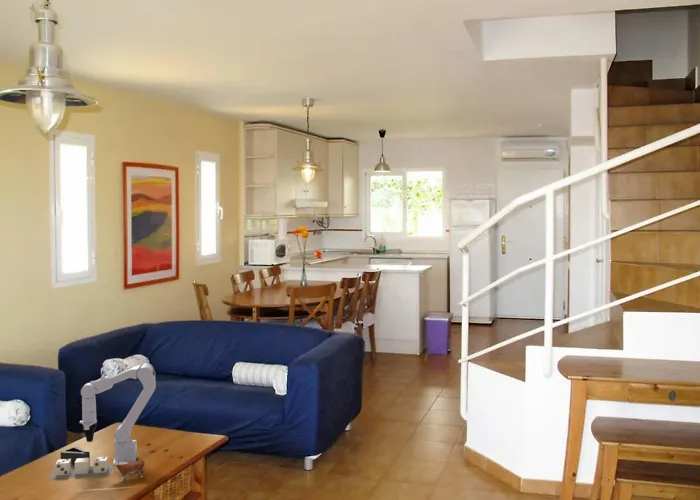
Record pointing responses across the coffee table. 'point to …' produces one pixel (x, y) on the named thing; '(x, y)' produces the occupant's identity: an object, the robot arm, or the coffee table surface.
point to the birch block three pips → (63, 467)
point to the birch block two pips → (100, 464)
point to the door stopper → (75, 454)
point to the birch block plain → (82, 466)
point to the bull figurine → (129, 468)
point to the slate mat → (72, 474)
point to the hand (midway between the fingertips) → (89, 441)
